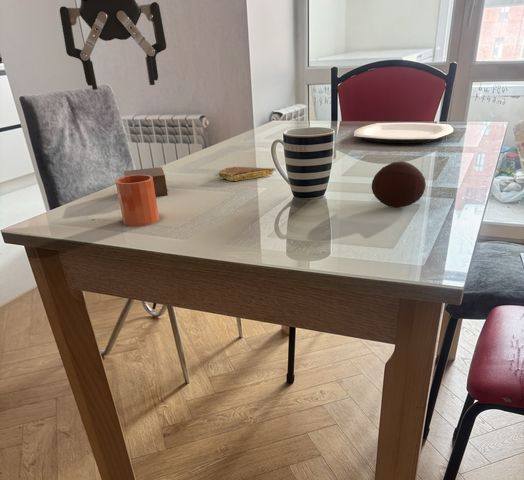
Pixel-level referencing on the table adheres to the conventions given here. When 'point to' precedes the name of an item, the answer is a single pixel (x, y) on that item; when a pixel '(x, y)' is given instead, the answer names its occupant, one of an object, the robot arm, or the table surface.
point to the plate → (403, 132)
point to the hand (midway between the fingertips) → (123, 87)
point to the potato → (398, 184)
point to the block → (157, 178)
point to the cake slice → (244, 173)
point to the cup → (137, 200)
